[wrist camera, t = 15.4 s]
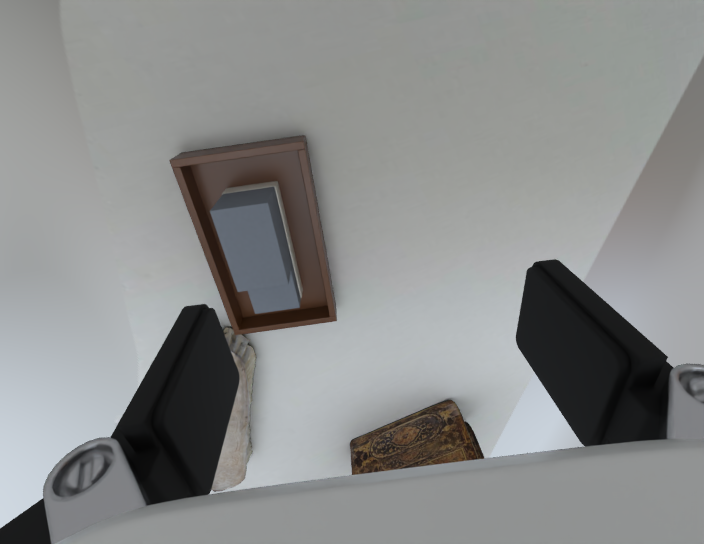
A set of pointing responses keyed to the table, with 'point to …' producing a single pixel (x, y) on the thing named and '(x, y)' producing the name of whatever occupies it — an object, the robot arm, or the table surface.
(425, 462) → the book
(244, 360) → the shoe brush
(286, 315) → the tray
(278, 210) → the grey stepped block
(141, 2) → the table surface
